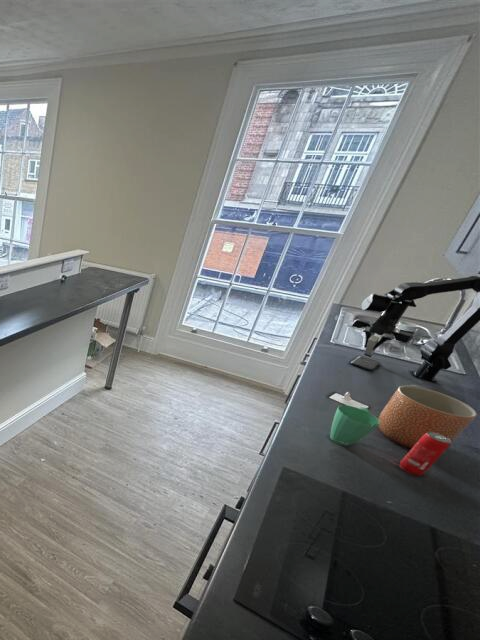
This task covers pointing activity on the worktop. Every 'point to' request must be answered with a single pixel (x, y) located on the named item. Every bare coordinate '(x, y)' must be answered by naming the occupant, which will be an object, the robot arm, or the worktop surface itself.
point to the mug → (352, 424)
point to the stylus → (371, 345)
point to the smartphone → (365, 363)
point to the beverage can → (424, 453)
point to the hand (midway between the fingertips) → (369, 348)
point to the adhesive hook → (347, 400)
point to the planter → (423, 415)
